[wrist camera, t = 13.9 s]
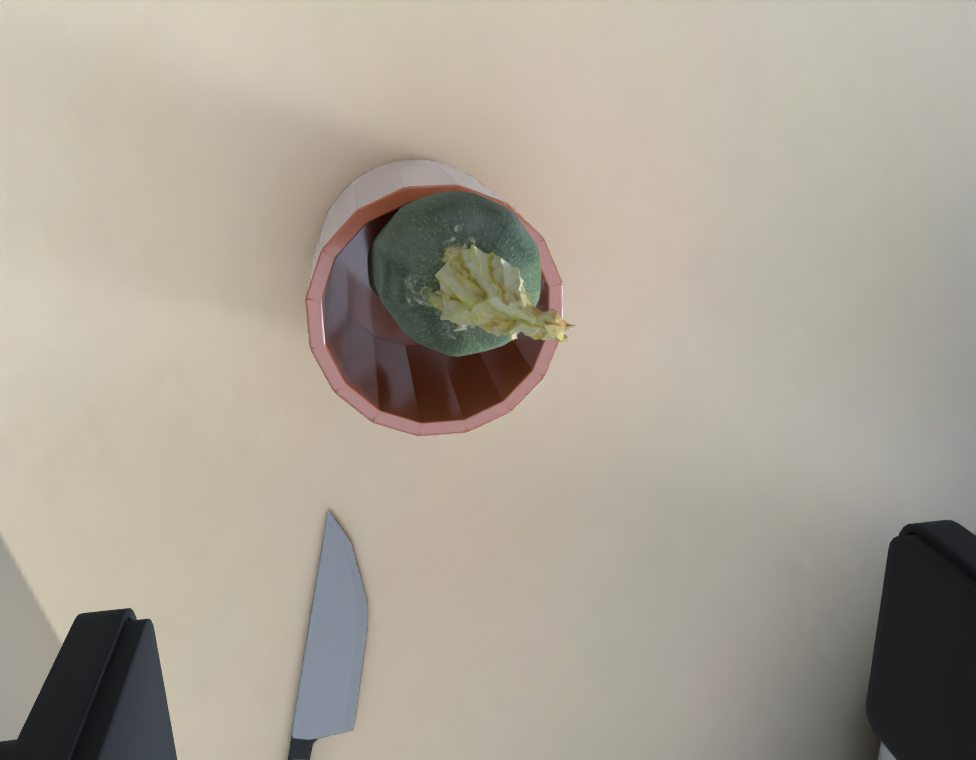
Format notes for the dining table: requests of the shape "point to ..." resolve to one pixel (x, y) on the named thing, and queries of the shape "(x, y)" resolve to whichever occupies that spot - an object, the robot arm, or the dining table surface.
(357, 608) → the chef's knife
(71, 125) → the dining table surface
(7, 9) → the dining table surface
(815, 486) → the dining table surface
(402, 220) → the vegetable
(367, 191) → the cup
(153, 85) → the dining table surface
